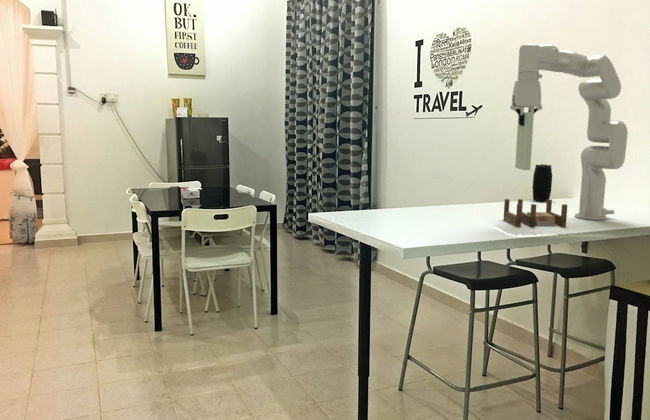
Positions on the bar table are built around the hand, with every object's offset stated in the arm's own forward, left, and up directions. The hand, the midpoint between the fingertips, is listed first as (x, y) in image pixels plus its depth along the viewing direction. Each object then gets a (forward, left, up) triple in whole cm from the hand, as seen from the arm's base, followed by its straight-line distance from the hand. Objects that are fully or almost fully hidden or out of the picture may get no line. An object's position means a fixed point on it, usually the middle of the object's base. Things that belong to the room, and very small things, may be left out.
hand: (525, 125), depth 219 cm
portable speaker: (-39, -75, -40) cm, 93 cm away
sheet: (0, 0, -17) cm, 17 cm away
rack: (-6, 0, -40) cm, 41 cm away
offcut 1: (-9, 0, -37) cm, 38 cm away
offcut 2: (-8, 0, -39) cm, 40 cm away
